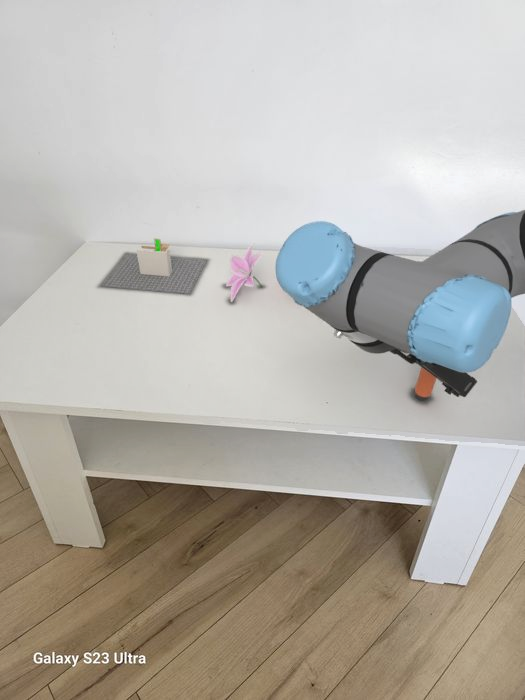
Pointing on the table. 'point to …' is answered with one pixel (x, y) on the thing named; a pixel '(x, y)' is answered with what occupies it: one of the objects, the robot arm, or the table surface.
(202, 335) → the table surface
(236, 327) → the table surface
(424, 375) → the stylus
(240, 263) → the lily
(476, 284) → the robot arm
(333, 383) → the table surface
